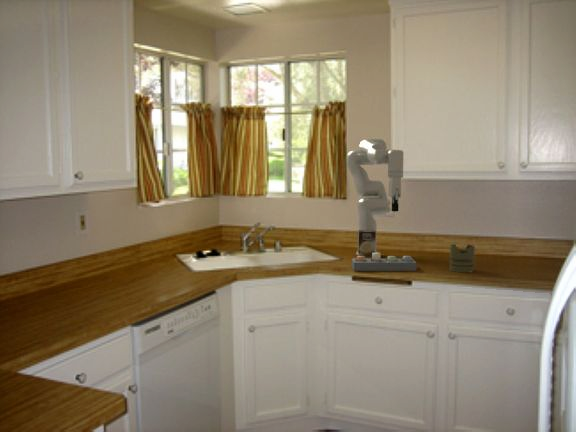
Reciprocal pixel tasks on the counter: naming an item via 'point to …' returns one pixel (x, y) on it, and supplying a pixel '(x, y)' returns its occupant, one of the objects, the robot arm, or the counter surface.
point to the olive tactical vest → (462, 258)
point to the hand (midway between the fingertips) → (394, 211)
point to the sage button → (391, 258)
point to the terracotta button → (360, 258)
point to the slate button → (406, 258)
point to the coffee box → (366, 243)
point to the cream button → (376, 256)
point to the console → (384, 265)
